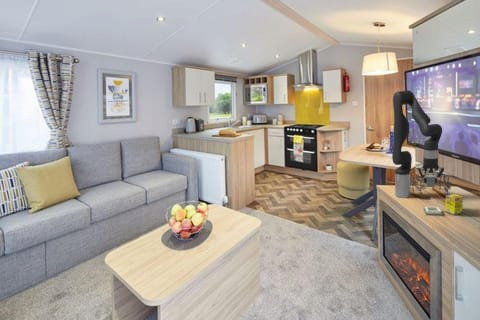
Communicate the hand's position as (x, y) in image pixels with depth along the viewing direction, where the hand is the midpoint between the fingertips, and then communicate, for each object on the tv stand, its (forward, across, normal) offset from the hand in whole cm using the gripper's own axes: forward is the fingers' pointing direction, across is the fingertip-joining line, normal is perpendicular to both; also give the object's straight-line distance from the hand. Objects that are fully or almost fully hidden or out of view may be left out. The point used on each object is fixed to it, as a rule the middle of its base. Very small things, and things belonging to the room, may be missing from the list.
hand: (430, 183), depth 167 cm
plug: (+2, 0, 0) cm, 2 cm away
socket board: (+17, -1, +7) cm, 18 cm away
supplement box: (+17, -11, +6) cm, 21 cm away
